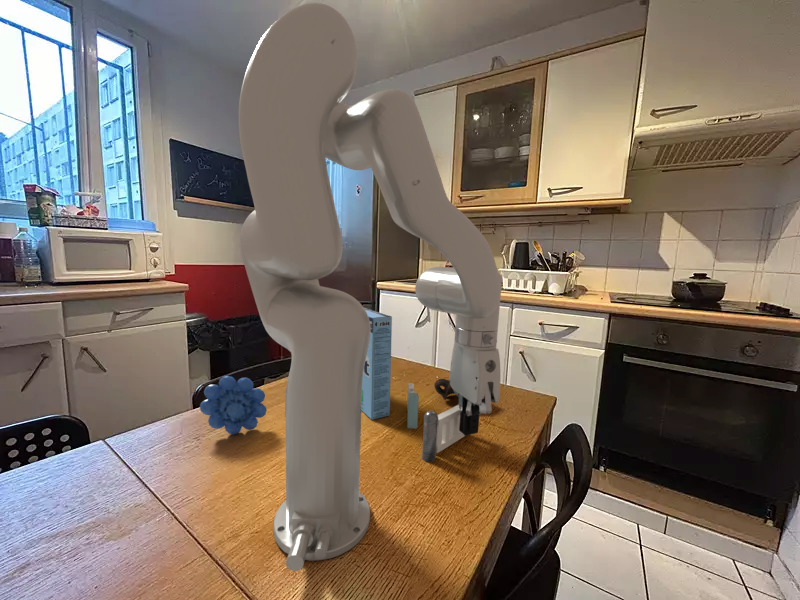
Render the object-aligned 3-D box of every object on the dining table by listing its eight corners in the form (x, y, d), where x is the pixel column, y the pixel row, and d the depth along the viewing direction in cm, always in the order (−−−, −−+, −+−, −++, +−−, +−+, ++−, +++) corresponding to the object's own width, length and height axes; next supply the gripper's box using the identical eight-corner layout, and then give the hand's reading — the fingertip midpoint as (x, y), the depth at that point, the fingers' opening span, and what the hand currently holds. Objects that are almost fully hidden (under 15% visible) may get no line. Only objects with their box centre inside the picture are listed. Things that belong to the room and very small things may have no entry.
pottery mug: (471, 395, 92) (484, 375, 87) (475, 425, 84) (489, 404, 79) (429, 383, 91) (440, 362, 86) (428, 413, 83) (441, 391, 78)
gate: (437, 455, 62) (439, 420, 61) (431, 452, 63) (433, 417, 62) (470, 434, 70) (472, 402, 69) (464, 431, 71) (466, 400, 70)
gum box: (390, 416, 77) (393, 316, 74) (369, 421, 74) (372, 317, 71) (354, 386, 93) (356, 303, 90) (337, 389, 91) (338, 304, 88)
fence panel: (414, 423, 74) (415, 397, 73) (409, 423, 74) (410, 397, 73) (412, 407, 82) (413, 383, 81) (407, 407, 82) (408, 383, 81)
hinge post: (436, 462, 60) (439, 414, 59) (422, 462, 60) (424, 414, 59) (435, 454, 63) (437, 408, 62) (420, 453, 63) (423, 407, 62)
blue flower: (200, 452, 61) (198, 387, 59) (201, 434, 66) (198, 375, 65) (270, 437, 66) (269, 378, 65) (265, 422, 72) (264, 367, 71)
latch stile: (417, 428, 72) (418, 396, 71) (407, 428, 72) (409, 396, 71) (416, 423, 74) (417, 392, 73) (407, 423, 74) (408, 392, 73)
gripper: (520, 346, 57) (511, 449, 59) (469, 327, 70) (463, 412, 73) (483, 349, 54) (475, 458, 56) (437, 329, 67) (432, 417, 70)
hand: (468, 431), depth 64 cm, fingers closed
